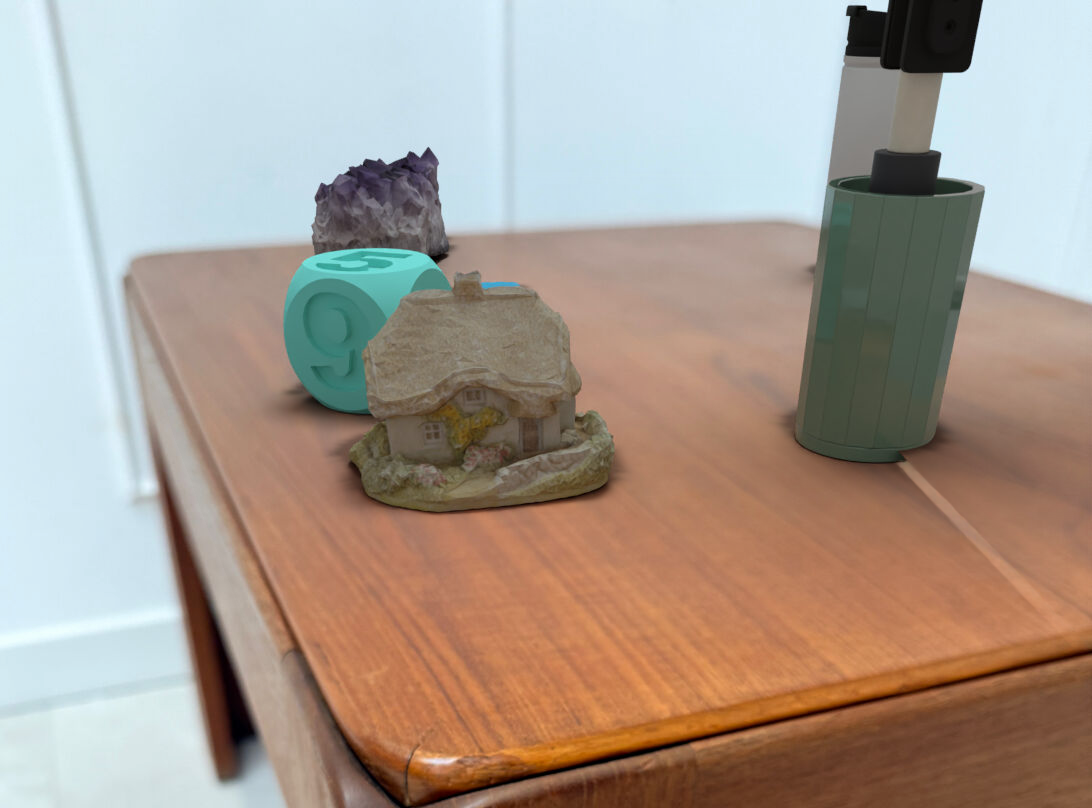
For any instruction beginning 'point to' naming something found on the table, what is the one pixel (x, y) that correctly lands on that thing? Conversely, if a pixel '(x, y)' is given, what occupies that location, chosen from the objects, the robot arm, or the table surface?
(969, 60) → the robot arm
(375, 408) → the ceramic model
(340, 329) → the decorative dice
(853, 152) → the travel mug
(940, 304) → the green pencil cup
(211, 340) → the table surface
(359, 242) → the geode
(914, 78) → the marker
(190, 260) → the table surface
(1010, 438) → the table surface
